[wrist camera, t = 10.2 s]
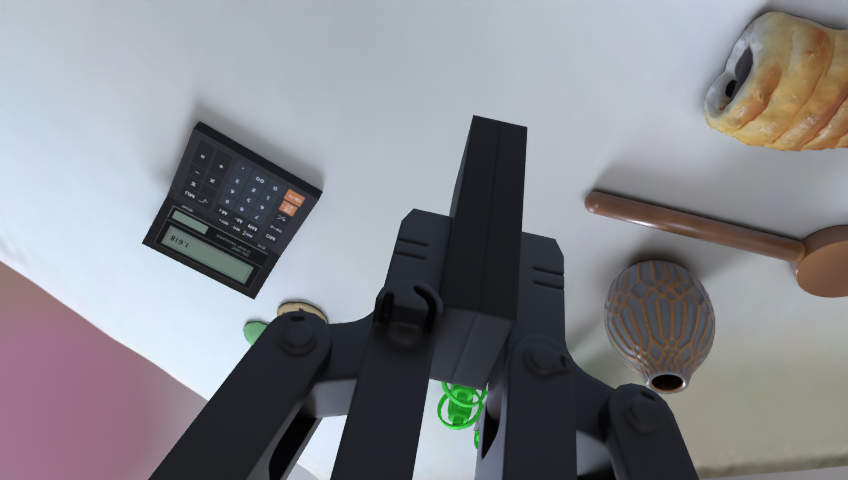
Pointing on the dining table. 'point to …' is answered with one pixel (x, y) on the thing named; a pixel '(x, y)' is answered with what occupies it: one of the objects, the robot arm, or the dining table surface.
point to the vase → (660, 323)
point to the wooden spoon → (745, 241)
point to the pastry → (784, 86)
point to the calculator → (229, 212)
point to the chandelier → (461, 407)
